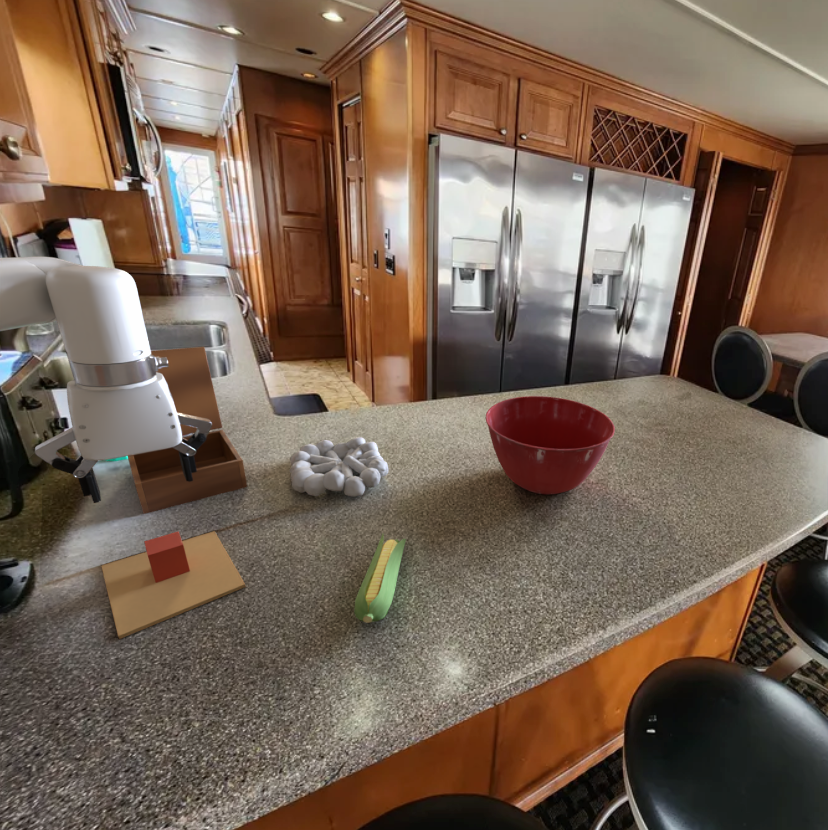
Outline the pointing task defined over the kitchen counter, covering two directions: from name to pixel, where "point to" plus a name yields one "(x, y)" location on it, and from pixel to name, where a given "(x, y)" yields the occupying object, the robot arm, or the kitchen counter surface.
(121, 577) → the mat
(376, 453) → the campfire
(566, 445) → the mixing bowl
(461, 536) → the kitchen counter surface
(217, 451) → the open wooden box
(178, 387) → the lid
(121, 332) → the robot arm
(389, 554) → the edible corn
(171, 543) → the block
